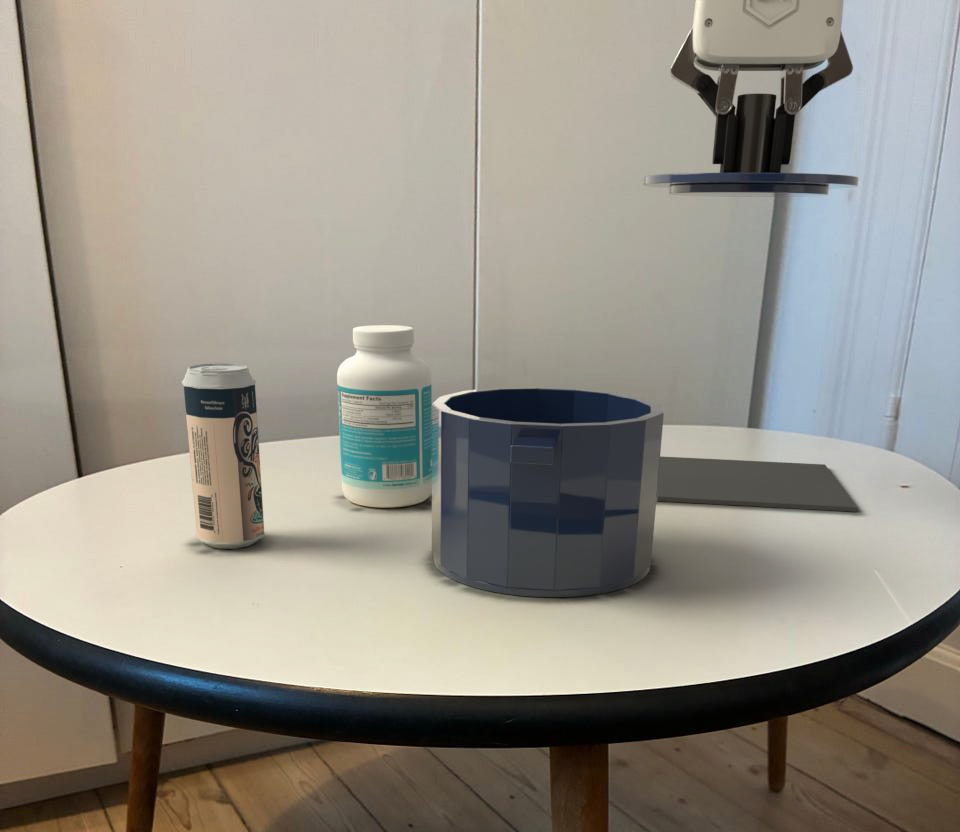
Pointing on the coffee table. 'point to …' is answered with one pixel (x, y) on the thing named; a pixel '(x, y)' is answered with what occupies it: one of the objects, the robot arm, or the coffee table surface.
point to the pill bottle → (385, 419)
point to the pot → (544, 489)
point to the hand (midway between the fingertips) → (749, 173)
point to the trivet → (751, 484)
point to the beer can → (224, 454)
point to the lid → (752, 163)
